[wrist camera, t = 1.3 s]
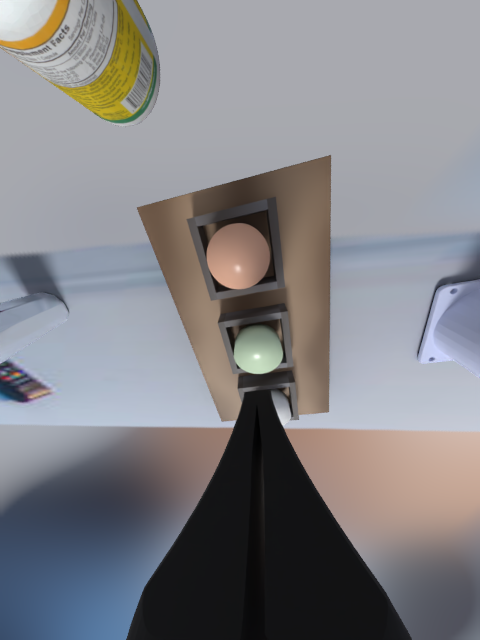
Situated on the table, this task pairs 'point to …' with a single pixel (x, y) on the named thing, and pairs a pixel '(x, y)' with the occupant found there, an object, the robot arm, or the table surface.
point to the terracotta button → (238, 256)
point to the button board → (262, 298)
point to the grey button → (281, 405)
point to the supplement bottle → (88, 52)
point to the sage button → (258, 349)
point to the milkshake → (28, 321)
